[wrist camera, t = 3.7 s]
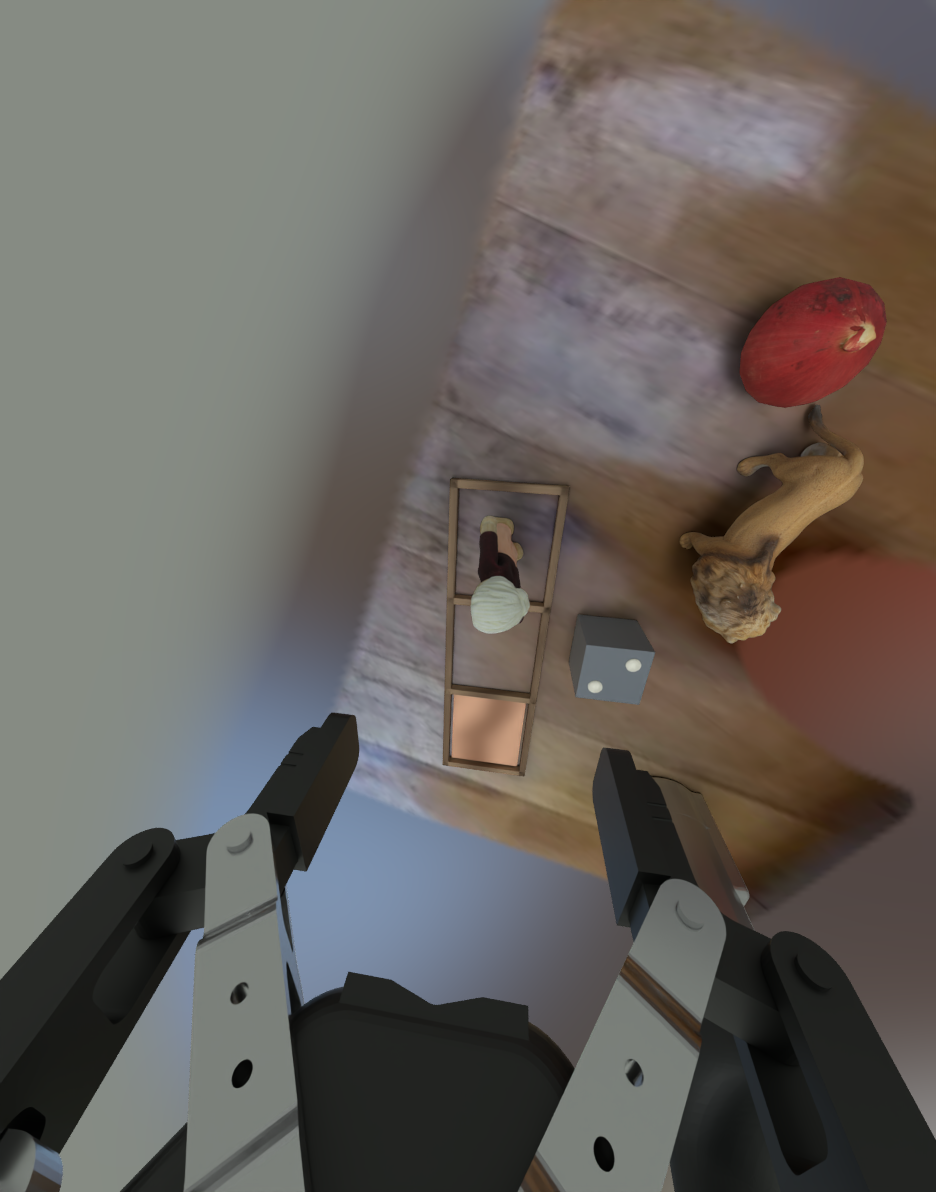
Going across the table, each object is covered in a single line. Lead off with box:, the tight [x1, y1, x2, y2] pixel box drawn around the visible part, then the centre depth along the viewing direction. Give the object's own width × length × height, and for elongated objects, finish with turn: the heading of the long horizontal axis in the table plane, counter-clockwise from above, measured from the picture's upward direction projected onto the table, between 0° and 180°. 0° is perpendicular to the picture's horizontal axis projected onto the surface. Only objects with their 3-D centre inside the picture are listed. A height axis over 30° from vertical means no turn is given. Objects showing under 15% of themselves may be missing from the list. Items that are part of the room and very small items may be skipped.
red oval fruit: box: [740, 277, 887, 408], centre depth 21 cm, size 6×6×8 cm
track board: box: [443, 478, 570, 776], centre depth 36 cm, size 9×31×1 cm, turn 177°
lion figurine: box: [680, 405, 864, 643], centre depth 24 cm, size 15×5×9 cm, turn 160°
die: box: [569, 615, 655, 705], centre depth 32 cm, size 5×5×5 cm
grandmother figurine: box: [471, 516, 530, 634], centre depth 26 cm, size 8×4×13 cm, turn 31°
